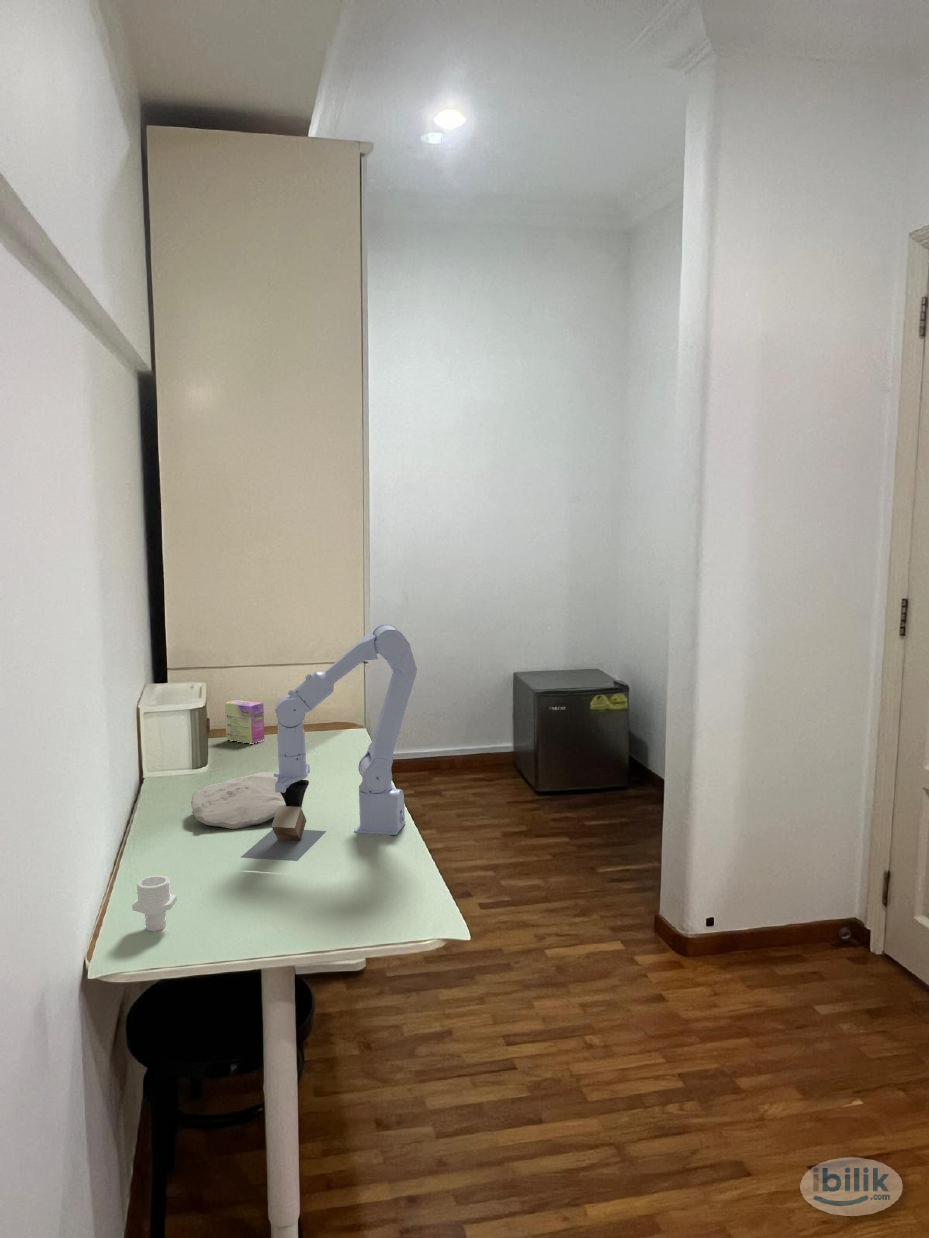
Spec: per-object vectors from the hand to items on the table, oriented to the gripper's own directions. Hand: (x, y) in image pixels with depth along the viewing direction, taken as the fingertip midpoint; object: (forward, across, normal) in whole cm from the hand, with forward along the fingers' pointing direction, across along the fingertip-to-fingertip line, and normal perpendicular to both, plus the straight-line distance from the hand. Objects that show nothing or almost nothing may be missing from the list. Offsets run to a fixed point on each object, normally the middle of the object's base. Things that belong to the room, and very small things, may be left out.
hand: (294, 815), depth 199 cm
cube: (+3, +2, 0) cm, 3 cm away
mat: (+4, +6, 0) cm, 7 cm away
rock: (+5, -15, -18) cm, 24 cm away
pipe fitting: (+5, +45, -7) cm, 46 cm away
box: (+5, -75, -45) cm, 87 cm away
